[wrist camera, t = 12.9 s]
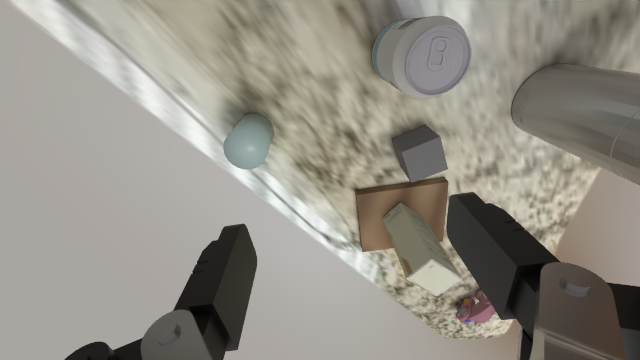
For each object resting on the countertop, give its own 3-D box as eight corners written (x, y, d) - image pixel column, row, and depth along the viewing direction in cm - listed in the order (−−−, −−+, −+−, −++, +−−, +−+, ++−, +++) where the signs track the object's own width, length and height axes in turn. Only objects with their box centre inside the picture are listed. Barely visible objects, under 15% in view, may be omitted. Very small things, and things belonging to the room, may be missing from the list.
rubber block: (425, 124, 38) (440, 136, 34) (432, 154, 40) (447, 169, 36) (391, 138, 39) (401, 152, 35) (400, 166, 41) (411, 182, 37)
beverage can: (366, 79, 35) (389, 100, 24) (376, 17, 31) (409, 10, 21) (417, 84, 35) (462, 106, 25) (433, 23, 32) (493, 19, 21)
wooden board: (444, 177, 42) (448, 181, 41) (439, 235, 48) (442, 241, 47) (355, 190, 43) (356, 195, 42) (361, 246, 49) (362, 252, 47)
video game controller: (487, 274, 56) (497, 294, 49) (504, 291, 55) (516, 313, 49) (449, 300, 59) (453, 321, 53) (465, 315, 59) (471, 339, 52)
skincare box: (380, 218, 44) (403, 278, 33) (400, 200, 42) (430, 257, 32) (407, 236, 46) (437, 299, 35) (427, 220, 44) (464, 280, 34)
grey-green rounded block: (269, 110, 36) (260, 126, 30) (277, 144, 39) (271, 166, 33) (233, 116, 37) (217, 133, 30) (243, 150, 39) (231, 172, 33)
